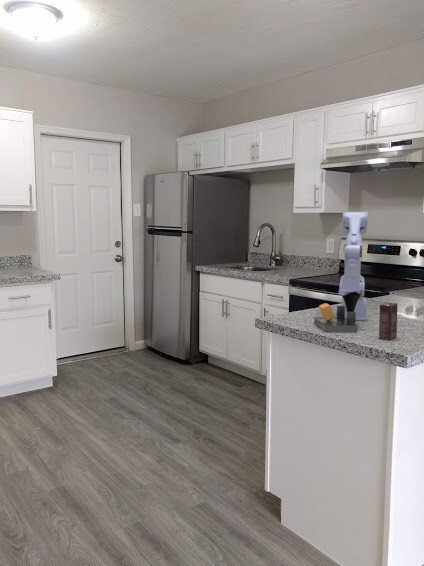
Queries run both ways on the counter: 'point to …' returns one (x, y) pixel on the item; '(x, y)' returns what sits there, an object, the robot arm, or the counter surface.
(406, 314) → the counter surface
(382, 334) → the box
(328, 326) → the grey flat block
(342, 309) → the post
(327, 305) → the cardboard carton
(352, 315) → the post
